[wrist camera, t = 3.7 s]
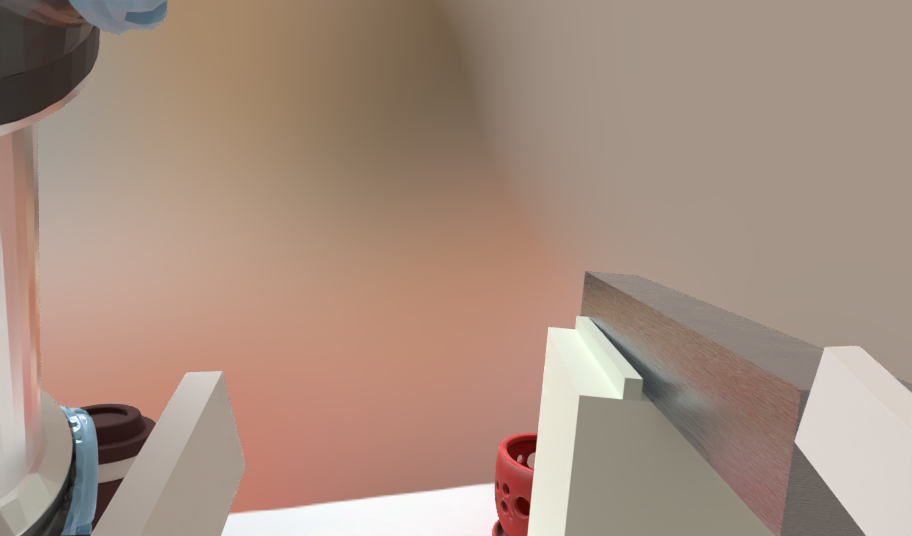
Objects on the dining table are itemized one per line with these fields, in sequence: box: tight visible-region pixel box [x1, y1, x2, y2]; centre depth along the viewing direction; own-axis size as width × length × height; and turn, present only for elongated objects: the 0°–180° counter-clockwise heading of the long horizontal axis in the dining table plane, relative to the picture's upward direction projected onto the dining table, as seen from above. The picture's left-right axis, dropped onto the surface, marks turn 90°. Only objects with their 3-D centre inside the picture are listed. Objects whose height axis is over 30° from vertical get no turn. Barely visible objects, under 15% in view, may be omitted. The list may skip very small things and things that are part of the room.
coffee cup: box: [80, 404, 156, 532], centre depth 59 cm, size 10×10×15 cm
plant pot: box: [492, 433, 538, 536], centre depth 67 cm, size 13×13×12 cm
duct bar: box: [581, 271, 912, 536], centre depth 30 cm, size 30×4×4 cm, turn 178°
